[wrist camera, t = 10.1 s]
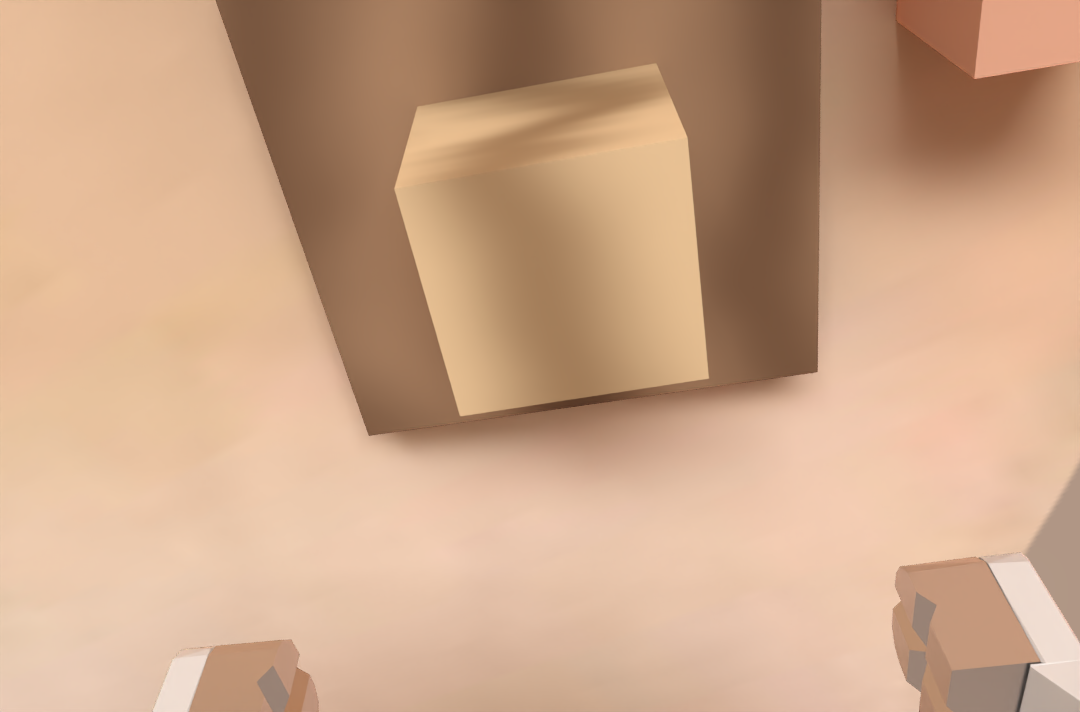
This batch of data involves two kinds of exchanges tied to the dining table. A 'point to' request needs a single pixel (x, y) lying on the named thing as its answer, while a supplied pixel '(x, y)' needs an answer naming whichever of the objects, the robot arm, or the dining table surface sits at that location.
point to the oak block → (557, 240)
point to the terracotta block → (996, 32)
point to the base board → (515, 62)
